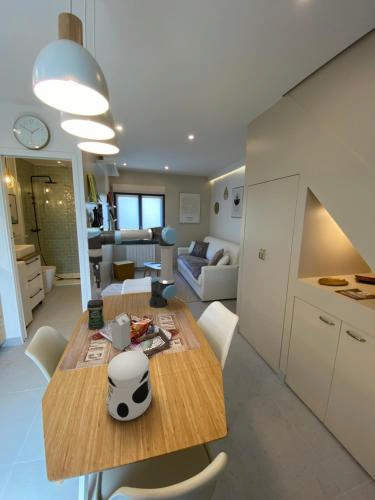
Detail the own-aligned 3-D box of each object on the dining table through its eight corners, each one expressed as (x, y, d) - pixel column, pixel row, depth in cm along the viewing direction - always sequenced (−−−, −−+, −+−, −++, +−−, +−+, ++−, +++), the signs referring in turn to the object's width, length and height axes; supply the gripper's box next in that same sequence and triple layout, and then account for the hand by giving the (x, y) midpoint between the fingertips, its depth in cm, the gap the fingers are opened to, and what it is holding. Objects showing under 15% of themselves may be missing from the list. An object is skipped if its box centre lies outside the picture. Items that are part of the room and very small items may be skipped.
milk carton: (112, 347, 115) (110, 315, 111) (121, 340, 121) (120, 310, 117) (121, 351, 111) (120, 319, 108) (130, 344, 117) (129, 313, 114)
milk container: (99, 403, 81) (96, 362, 78) (138, 379, 93) (136, 343, 90) (120, 437, 69) (117, 391, 65) (161, 404, 81) (160, 364, 77)
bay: (160, 335, 127) (159, 327, 126) (169, 347, 115) (169, 339, 114) (136, 342, 119) (135, 334, 118) (143, 356, 107) (143, 348, 106)
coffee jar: (87, 330, 130) (85, 303, 127) (90, 324, 138) (88, 298, 134) (103, 329, 132) (101, 302, 129) (105, 322, 140) (104, 297, 137)
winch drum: (153, 330, 132) (152, 318, 130) (155, 333, 128) (155, 321, 126) (146, 331, 130) (146, 320, 128) (149, 335, 126) (148, 323, 124)
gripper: (87, 252, 132) (89, 283, 135) (90, 260, 110) (92, 297, 114) (100, 251, 135) (102, 282, 139) (104, 259, 114) (106, 295, 117)
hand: (97, 289), depth 126 cm, fingers open, 13 cm apart
